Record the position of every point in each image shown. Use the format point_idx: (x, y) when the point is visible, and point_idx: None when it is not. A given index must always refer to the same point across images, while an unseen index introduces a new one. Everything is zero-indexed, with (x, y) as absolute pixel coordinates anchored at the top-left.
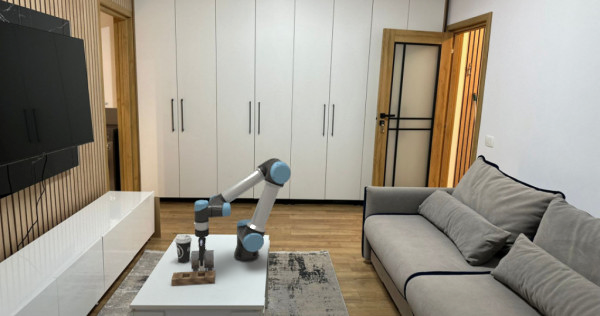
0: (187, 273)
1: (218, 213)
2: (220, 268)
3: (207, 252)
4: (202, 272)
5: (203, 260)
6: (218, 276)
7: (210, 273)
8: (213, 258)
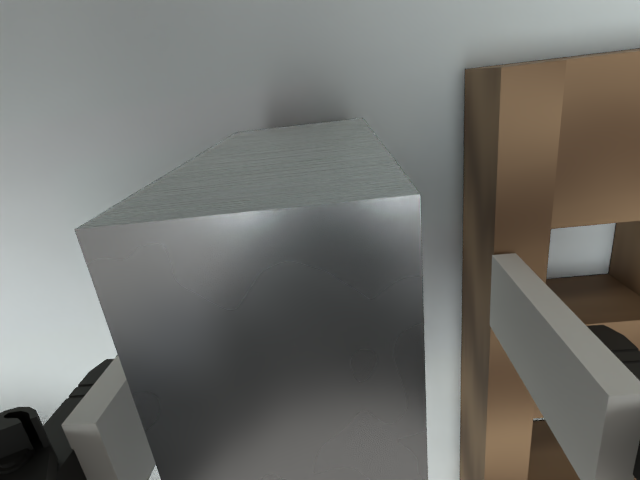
0: (529, 443)
1: None
2: (199, 21)
3: (355, 422)
4: (543, 271)
5: (636, 392)
6: (474, 12)
7: (613, 136)
8: (332, 148)
